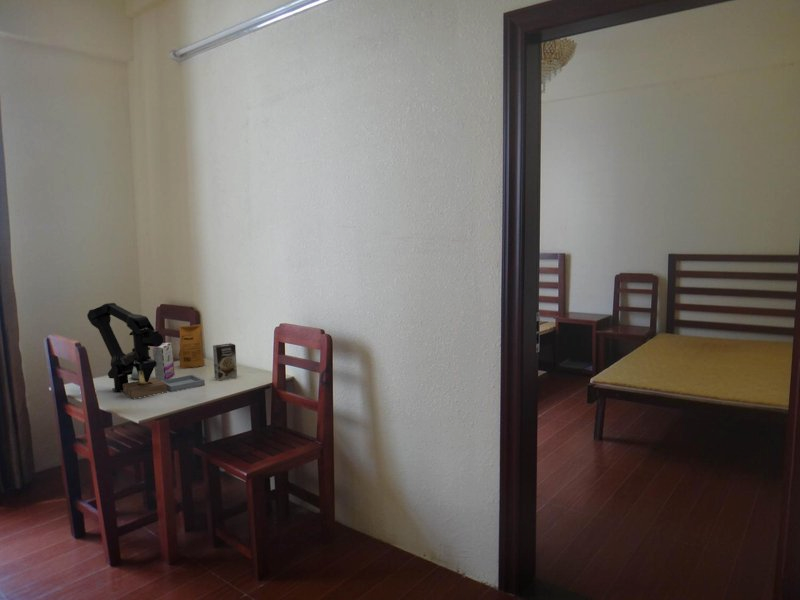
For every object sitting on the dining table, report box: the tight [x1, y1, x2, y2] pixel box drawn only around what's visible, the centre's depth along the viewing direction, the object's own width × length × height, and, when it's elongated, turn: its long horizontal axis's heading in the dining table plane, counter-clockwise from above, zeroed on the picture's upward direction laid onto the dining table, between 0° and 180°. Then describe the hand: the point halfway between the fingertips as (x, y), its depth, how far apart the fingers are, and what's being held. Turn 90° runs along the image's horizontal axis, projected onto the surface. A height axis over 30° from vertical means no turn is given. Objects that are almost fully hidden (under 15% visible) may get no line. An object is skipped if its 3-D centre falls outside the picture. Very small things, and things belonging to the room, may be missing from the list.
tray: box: [161, 374, 206, 393], centre depth 252 cm, size 14×15×2 cm
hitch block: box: [122, 377, 168, 400], centre depth 242 cm, size 14×14×4 cm
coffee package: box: [178, 323, 205, 369], centre depth 289 cm, size 10×12×22 cm
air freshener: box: [130, 366, 139, 380], centre depth 268 cm, size 11×8×10 cm
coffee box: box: [212, 342, 238, 382], centre depth 263 cm, size 9×6×16 cm
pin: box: [138, 370, 149, 386], centre depth 242 cm, size 4×4×10 cm
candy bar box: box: [152, 342, 175, 380], centre depth 265 cm, size 11×5×16 cm, turn 0°
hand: (144, 380), depth 242 cm, fingers open, 7 cm apart
